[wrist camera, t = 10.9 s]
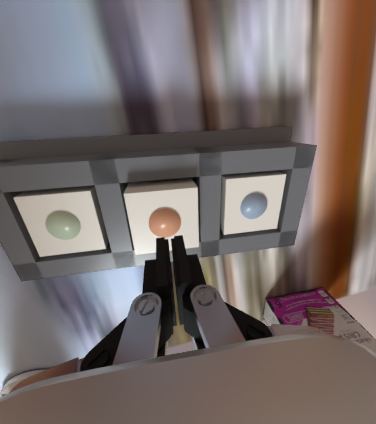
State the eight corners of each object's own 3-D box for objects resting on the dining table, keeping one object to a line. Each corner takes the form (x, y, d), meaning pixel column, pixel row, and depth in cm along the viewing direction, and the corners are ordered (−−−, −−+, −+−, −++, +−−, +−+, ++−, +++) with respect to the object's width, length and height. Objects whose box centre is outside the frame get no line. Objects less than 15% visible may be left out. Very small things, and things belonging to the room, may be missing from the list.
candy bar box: (323, 285, 34) (450, 407, 20) (317, 304, 36) (428, 428, 22) (263, 297, 33) (349, 436, 18) (261, 316, 35) (337, 455, 21)
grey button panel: (269, 233, 28) (291, 255, 23) (51, 260, 24) (27, 292, 20) (286, 126, 22) (320, 127, 17) (0, 141, 18) (-51, 148, 14)
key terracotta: (193, 231, 21) (199, 247, 19) (138, 237, 21) (135, 255, 18) (191, 178, 19) (198, 188, 16) (128, 183, 18) (123, 194, 15)
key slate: (263, 216, 24) (277, 229, 21) (215, 221, 23) (224, 235, 20) (269, 167, 21) (287, 174, 19) (216, 171, 21) (226, 179, 18)
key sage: (111, 233, 22) (105, 249, 19) (54, 239, 21) (39, 257, 18) (99, 181, 19) (89, 191, 16) (33, 186, 18) (11, 198, 16)
